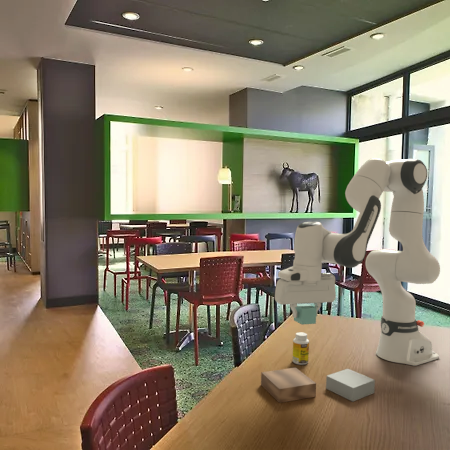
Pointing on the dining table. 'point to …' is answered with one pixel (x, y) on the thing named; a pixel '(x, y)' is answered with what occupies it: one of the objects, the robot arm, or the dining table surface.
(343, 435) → the dining table surface
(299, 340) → the supplement bottle
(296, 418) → the dining table surface
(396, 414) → the dining table surface
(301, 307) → the teal cube
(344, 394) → the slate block
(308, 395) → the walnut block
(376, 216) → the robot arm
